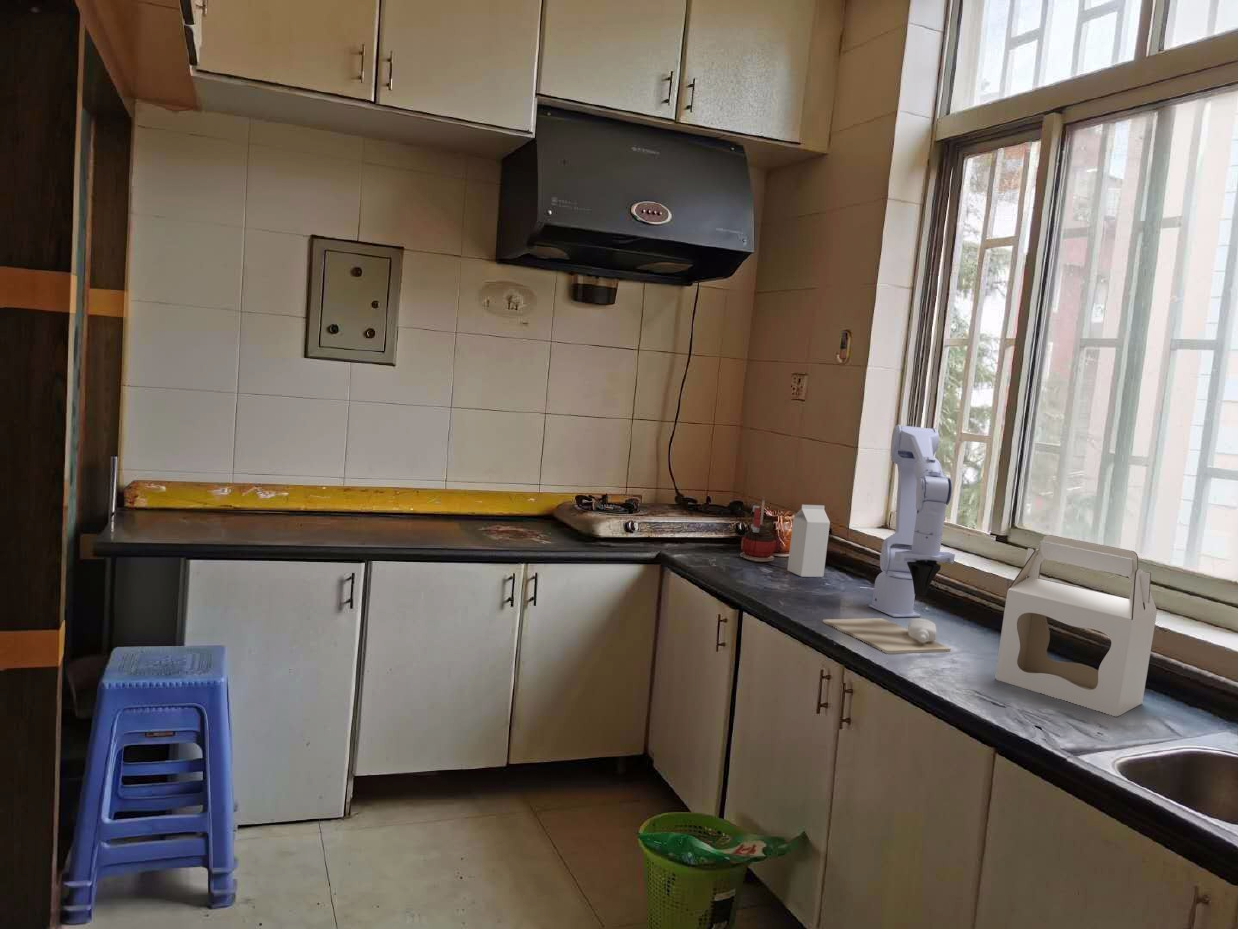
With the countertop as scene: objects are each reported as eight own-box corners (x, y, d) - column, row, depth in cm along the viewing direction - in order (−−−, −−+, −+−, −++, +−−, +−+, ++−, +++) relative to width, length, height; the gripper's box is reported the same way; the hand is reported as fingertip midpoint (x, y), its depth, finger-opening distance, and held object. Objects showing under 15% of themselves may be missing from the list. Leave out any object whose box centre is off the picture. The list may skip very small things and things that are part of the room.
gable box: (992, 679, 180) (1013, 532, 177) (1022, 668, 190) (1042, 529, 187) (1118, 718, 165) (1143, 558, 162) (1143, 704, 174) (1168, 553, 171)
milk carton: (823, 577, 258) (832, 507, 256) (800, 577, 256) (809, 507, 254) (809, 571, 265) (817, 503, 263) (786, 571, 262) (794, 502, 260)
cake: (775, 565, 268) (783, 502, 267) (742, 562, 269) (749, 498, 267) (770, 557, 279) (777, 496, 277) (738, 554, 279) (745, 493, 277)
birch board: (822, 622, 210) (823, 619, 210) (881, 620, 217) (882, 618, 217) (887, 653, 190) (887, 651, 190) (950, 651, 197) (950, 648, 197)
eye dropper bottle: (926, 642, 206) (927, 655, 195) (904, 625, 207) (904, 638, 196) (939, 626, 205) (941, 639, 194) (917, 610, 206) (918, 621, 195)
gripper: (913, 535, 198) (905, 600, 199) (967, 537, 203) (959, 599, 205) (891, 529, 204) (883, 591, 206) (944, 530, 210) (936, 591, 211)
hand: (919, 595), depth 206 cm, fingers closed
